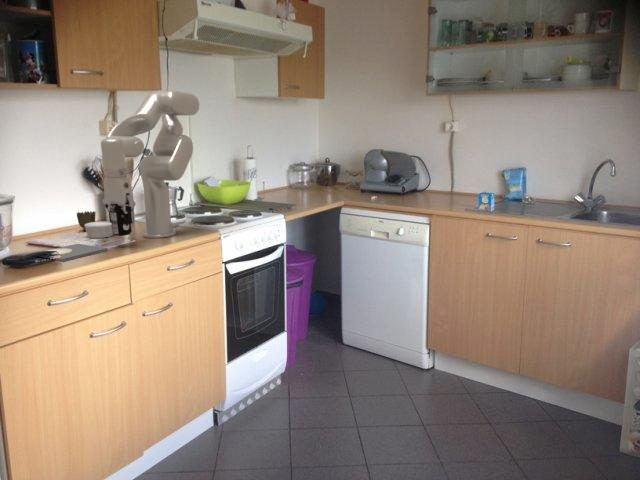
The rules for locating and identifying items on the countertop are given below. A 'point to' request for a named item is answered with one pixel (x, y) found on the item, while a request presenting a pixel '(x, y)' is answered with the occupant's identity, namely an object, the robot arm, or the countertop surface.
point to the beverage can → (118, 220)
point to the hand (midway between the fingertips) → (121, 222)
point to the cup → (85, 218)
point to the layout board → (77, 251)
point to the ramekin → (99, 229)
